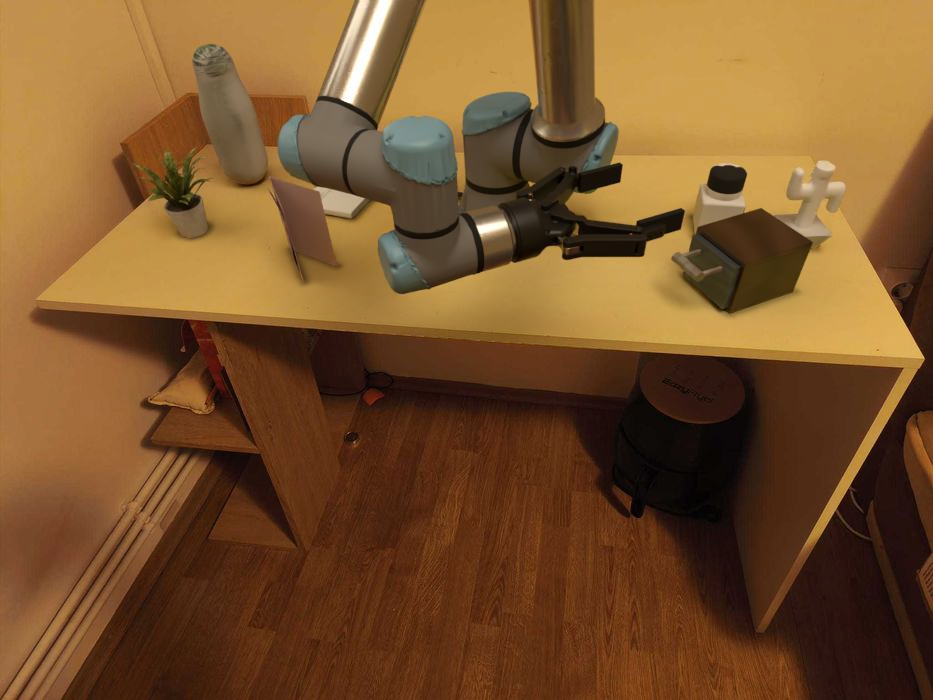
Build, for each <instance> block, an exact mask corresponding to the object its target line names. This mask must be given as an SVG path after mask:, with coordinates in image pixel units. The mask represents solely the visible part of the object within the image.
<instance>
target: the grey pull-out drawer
mask: <svg viewBox="0 0 933 700" xmlns="http://www.w3.org/2000/svg"><path fill="white" fill-rule="evenodd" d="M690 240H691V241H690V244H689V248H688V252H684V253H681V252H679V251H677V252H674V253H673V254H672V256H671V261H672V262H673V263H674V264H675V265H676V266H678V267H679V268H680V269H681V270H682V271H683V272H682V276H683V277H684V278H686V280H688V281H689V282H690V283H691V284H692V285H693V286H695V287H696V288H698V290H700V291H701V293H703V294H704V296H706V297H707V298H708V299H710V301H712V302H713V303H714V304H715V305H716V306H718V308H720V309H721V310H725V309H724V308H727V307H728V306H729V303H730V300H731V297H732V294H733V291H734V287H735V284H736V281H737V278H738V275H739V272H740V269H741V265H740V264H739V263H737V262H736V261H735V260H733V259H732V258H731V257H730V256H728V255H727V254H726V253H724V252H723V251H722V250H721V249H719V248H718V247H717V246H715V245H714V244H713V243H712V242H710V241H709V240H708V239H707V240H706V239H705V238H704V237H702V236H701V235H700V234H696V235H695V234H693V235H691V239H690Z"/></svg>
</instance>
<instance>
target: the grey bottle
mask: <svg viewBox="0 0 933 700" xmlns="http://www.w3.org/2000/svg"><path fill="white" fill-rule="evenodd" d="M192 69H193V71H194V75H195V80H196V84H197V86H196V87H197V91H198V104H199V109H200V114H201V118H202V121H203V124H204V127H205V129H206V132H207V135H208V137H209V140H210V142H211V145H212V148H213V151H214V153H215V156H216V159H217V161H218V164H219V166H220V168H221V170H222V171H223V173H224V174H225V175H226V177H228V178H229V179H230V180H231V181H232V182H234V183H237V184H240V185H253V184H256V183H259V182H260V181H261V180H262V179H263V178H264V177H265V175H266V174H267V170H268V167H269V158H268V152H267V149H266V145H265V142H264V138H263V135H262V131H261V126H260V123H259V119H258V115H257V112H256V108H255V106H254V103H253V101H252V99H251V97H250V95H249V92H248V91H247V89H246V87H245V85H244V83H243V81H242V80H241V77H240V75H239V73H238V70H237V68H236V64H235V62H234V60H233V58H232V56H231V54H230V52H229V51H228V50H227V49H226V48H224V47H223V46H222V45H219V44H215V43H208V44H203V45H201V46H198V47H197V48H196V49H195V50H194V52H193V54H192Z"/></svg>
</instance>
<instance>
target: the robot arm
mask: <svg viewBox="0 0 933 700" xmlns="http://www.w3.org/2000/svg"><path fill="white" fill-rule="evenodd" d="M427 2H428V0H354V1H353V3H352V7H351V9H350V11H349V14H348V17H347V19H346V22H345V23H344V24H345V25H344V27H343V29H342V32H341V35H340V38H339V40H338V43H337V46H336V48H335V50H334V53H333V55H332V58H331V61H330V64H329V66H328V69H327V71H326V74H325V77H324V79H323V82H322V85H321V87H320V89H319V92H318V95H317V98H316V100H315V103H314V105H313V107H312V110H311V112H310V113H305V114H295V115H293V116H291V117H290V118H289V120H288V121H287V122H286V123H284V124H283V125H282V127H281V129H280V131H279V134H278V137H277V155H278V159H279V162H280V164H281V166H282V168H283V169H284V170H285V171H286V173H288V174H289V176H290V177H292V178H295V179H298V180H301V181H302V182H306V183H308V184H311V185H312V186H314V187H321V188H323V187H324V188H328V189H332V190H336V191H340V192H344V193H348V194H352V195H355V196H359V197H361V198H365V199H368V200H370V201H372V202H375V203H379V204H383V205H387V206H389V207H390V210H391V214H392V220H393V229H392V230H389V231H388V232H386V233H383V234H381V235H379V237H378V239H377V254H378V259H379V263H380V266H381V269H382V273H383V275H384V278H385V280H386V282H387V284H388V286H389V288H390V290H392V291H393V292H394V293H396V294H398V295H406V294H410V293H415V292H419V291H424V290H429V291H430V290H431V289H433V288H435V287H439V286H442V285H444V284H448V283H451V282H454V281H456V280H460V279H462V278H466V277H470V276H472V275H473V276H475V275H478V274H481V273H484V272H486V271H491V270H494V269H498V268H501V267H505V266H508V265H510V264H511V263H513V264H516V263H520V262H524V261H527V260H530V259H533V258H538V257H539V256H540V255H541V254H542V252H544V250H545V249H546V248H548V247H559V249H561V258H562V260H565V261H570V260H576V259H580V258H643V257H644V256H645V253H646V248H647V244H648V242H651V241H654V240H657V239H661V238H663V237H665V235H667V234H671V233H675V232H678V231H681V230H682V226H683V223H684V216H685V215H686V210H685V209H684V208H682V207H680V208H677V209H673V210H669V211H666V212H662V213H659V214H655V215H652V216H647V217H645V218H642V219H638V220H636V224H627V223H620V222H611V221H602V220H596V219H595V220H594V219H589V218H587V216H586V215H583V214H576V213H575V212H574V211H572V210H570V209H569V207H568V206H567V205H566V203H567V202H568V201H569V200H570V198H571V197H572V195H573V194H574V193H576V194H583V195H591V194H593V193H595V192H596V191H597V190H598V189H602V188H605V187H608V186H612V185H616V184H619V183H621V179H622V173H623V166H624V164H623V163H621V162H616V163H612V161H613V159H614V155H615V152H616V149H617V144H618V141H619V134H620V132H619V130H620V129H619V127H618V125H616V124H614V123H613V122H612V121H609V122H606V108H605V106H604V104H603V103H602V101H601V100H600V98H598V97H596V39H595V38H596V37H595V35H596V34H595V32H596V31H595V30H596V29H595V27H596V26H595V25H596V23H595V21H596V19H595V0H528V1H527V2H528V11H529V21H530V32H531V38H532V39H531V41H532V42H531V43H532V52H533V62H534V72H535V82H536V90H537V91H536V92H537V93H536V94H537V104H536V105H535V107H534V108H532V101H531V98H530V97H529V95H527V94H526V93H523V92H519V91H500V92H494V93H490V94H486V95H482V96H480V97H478V98H475V99H473V101H471V102H470V103H468V104H467V105H466V106H465V108H464V111H463V112H462V129H461V135H462V146H463V159H464V160H463V161H464V175H465V177H464V179H465V185H464V188H463V192H461V191H459V189H458V187H459V186H458V169H459V165H458V159H457V155H456V149H455V141H454V134H453V131H452V129H451V128H450V126H449V125H448V124H447V123H446V122H444V120H442V119H440V118H437V117H434V116H429V115H423V116H414V115H411V116H405V117H401V118H398V119H396V120H394V121H392V122H389V124H387V125H386V126H385V128H384V129H383V131H380V130H378V129H379V126H380V122H381V120H382V118H383V115H384V113H385V111H386V107H387V105H388V102H389V99H390V97H391V94H392V92H393V89H394V87H395V84H396V81H397V79H398V76H399V73H400V72H401V68H402V66H403V63H404V61H405V58H406V56H407V52H408V51H409V47H410V45H411V43H412V40H413V37H414V34H415V32H416V30H417V27H418V25H419V22H420V20H421V17H422V15H423V11H424V8H425V6H426V4H427ZM530 183H532V185H530ZM459 198H460V202H459ZM577 225H578V226H577ZM577 227H578V228H577ZM576 230H577V234H575V231H576Z"/></svg>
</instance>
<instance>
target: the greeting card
mask: <svg viewBox="0 0 933 700" xmlns="http://www.w3.org/2000/svg"><path fill="white" fill-rule="evenodd" d="M268 178H269V181H270V185H271V188H272V191H273V193H272V191H271V190H270V189H269V188H267V190H268V191H269V192H268V193H269V194H270V196H271V197H272V199H273V201H274V203H275V204H276V206H277V208H278V212H279V215H280V219H281V222H282V226H283V229H284V232H285V236H286V240H287V242H288V247H289V249H290V251H291V254H292V257H293V259H294V262H295V265H296V267H297V269H298V272H299V274H300V277H301V279H302V281H303V283H305V281H304V277H303V274H302V271H301V268H300V263H299V260H298V257H297V253H299V254H302V255H304V256H307V257H310V258H313V259H315V260H318V261H321V262H323V263H326V264H329V265H332V266H333V267H334V266H335V267H338V264H337V263H338V262H337V259H336V255H335V251H334V246H333V243H332V239H331V234H330V230H329V226H328V222H327V217H326V214H325V213H324V209H323V204H322V200H321V196H320V192H319V191H316V190H313V189H312V188H309V187H306V186H302V185H299V184H297V183H292V182H289V181H286V180H282V179H279V178H276V177H273V176H268Z"/></svg>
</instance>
